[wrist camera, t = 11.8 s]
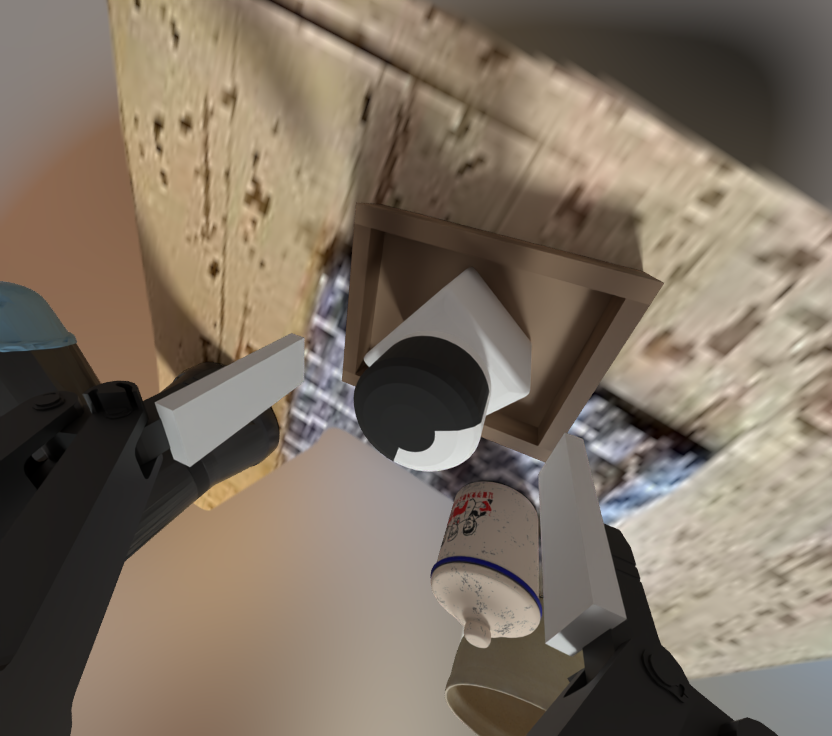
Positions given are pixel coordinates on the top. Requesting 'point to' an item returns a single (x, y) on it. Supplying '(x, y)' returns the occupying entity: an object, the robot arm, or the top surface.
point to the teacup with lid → (490, 564)
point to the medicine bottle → (443, 376)
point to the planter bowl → (508, 682)
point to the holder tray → (520, 295)
